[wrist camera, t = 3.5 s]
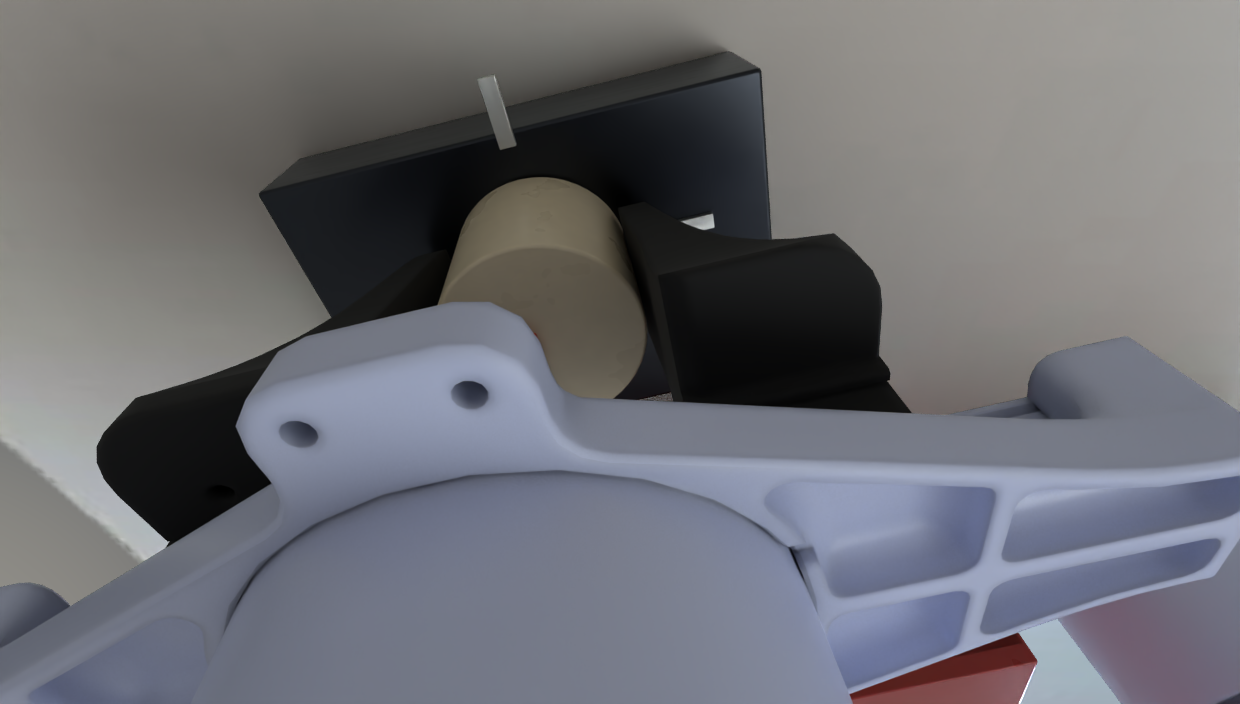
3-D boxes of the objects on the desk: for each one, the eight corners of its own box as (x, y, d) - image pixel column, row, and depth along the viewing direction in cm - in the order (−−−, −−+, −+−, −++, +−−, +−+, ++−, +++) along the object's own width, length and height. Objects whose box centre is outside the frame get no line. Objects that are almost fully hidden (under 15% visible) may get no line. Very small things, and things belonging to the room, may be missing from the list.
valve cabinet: (854, 390, 21) (1039, 661, 13) (847, 587, 28) (963, 837, 20) (635, 440, 21) (685, 732, 13) (685, 622, 28) (736, 880, 20)
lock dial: (608, 156, 13) (627, 227, 9) (641, 310, 15) (665, 408, 12) (430, 199, 13) (391, 283, 10) (491, 345, 15) (475, 451, 12)
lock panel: (727, -3, 13) (760, 7, 11) (755, 322, 19) (782, 372, 16) (272, 113, 14) (221, 144, 12) (426, 398, 19) (409, 456, 17)
